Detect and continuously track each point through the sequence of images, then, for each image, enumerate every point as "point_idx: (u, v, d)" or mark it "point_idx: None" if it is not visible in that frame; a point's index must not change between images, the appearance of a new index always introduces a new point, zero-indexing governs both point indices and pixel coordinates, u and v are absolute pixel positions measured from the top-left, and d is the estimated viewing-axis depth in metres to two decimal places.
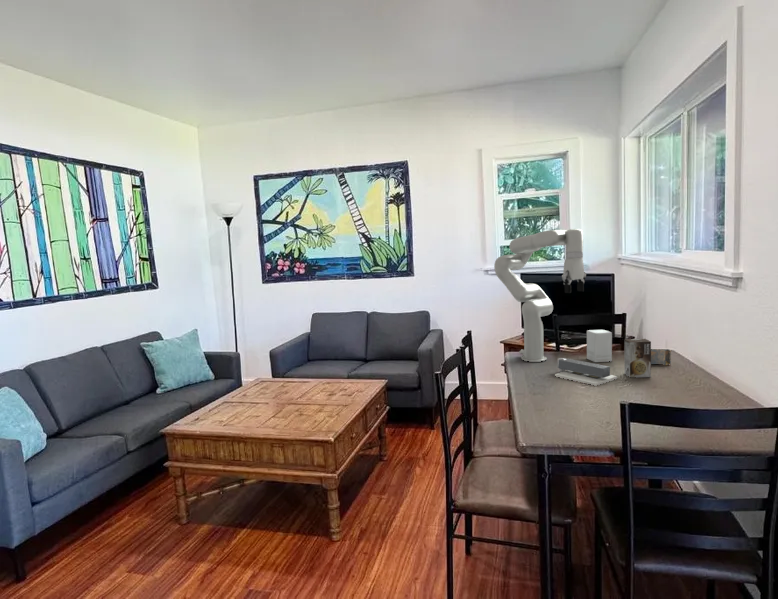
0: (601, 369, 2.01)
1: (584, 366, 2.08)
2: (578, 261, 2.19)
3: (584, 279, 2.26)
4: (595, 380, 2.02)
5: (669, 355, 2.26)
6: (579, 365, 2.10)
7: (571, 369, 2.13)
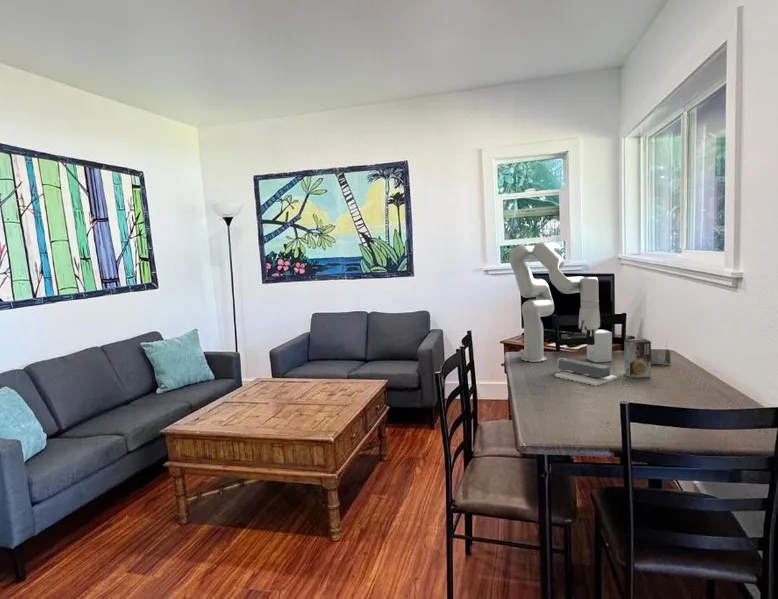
0: (601, 369, 2.01)
1: (584, 366, 2.08)
2: (593, 310, 2.11)
3: None
4: (595, 380, 2.02)
5: (669, 355, 2.26)
6: (579, 365, 2.10)
7: (571, 369, 2.13)
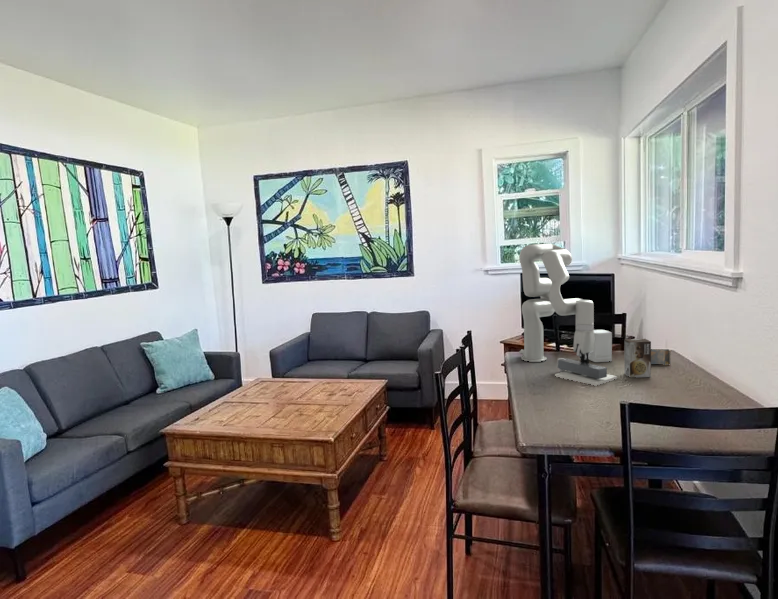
0: (597, 370, 2.00)
1: (581, 366, 2.07)
2: (588, 333, 2.10)
3: (589, 354, 2.15)
4: (595, 380, 2.02)
5: (668, 355, 2.26)
6: (577, 365, 2.09)
7: (569, 369, 2.13)
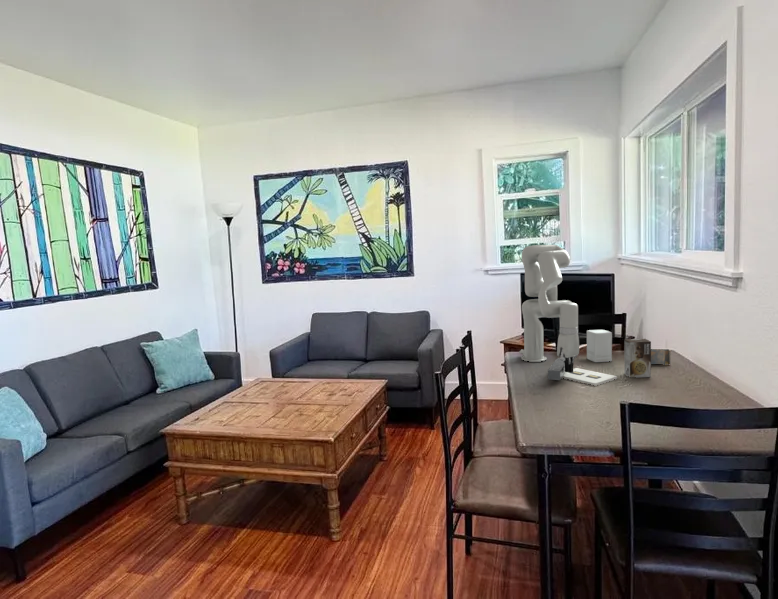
0: (548, 370, 2.02)
1: None
2: (572, 337, 2.04)
3: (573, 359, 2.08)
4: (595, 380, 2.02)
5: (668, 355, 2.26)
6: (552, 365, 2.12)
7: None
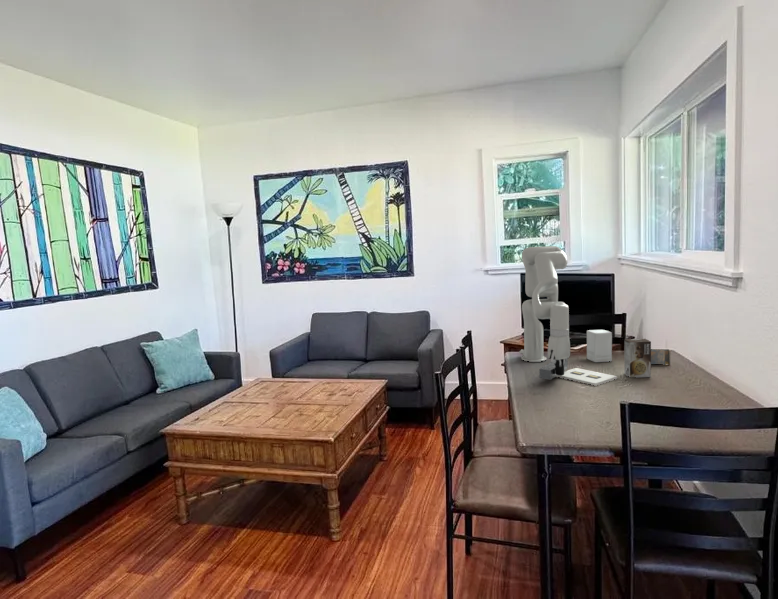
0: None
1: None
2: (563, 339, 2.01)
3: (564, 361, 2.05)
4: (595, 380, 2.02)
5: (668, 355, 2.26)
6: None
7: None
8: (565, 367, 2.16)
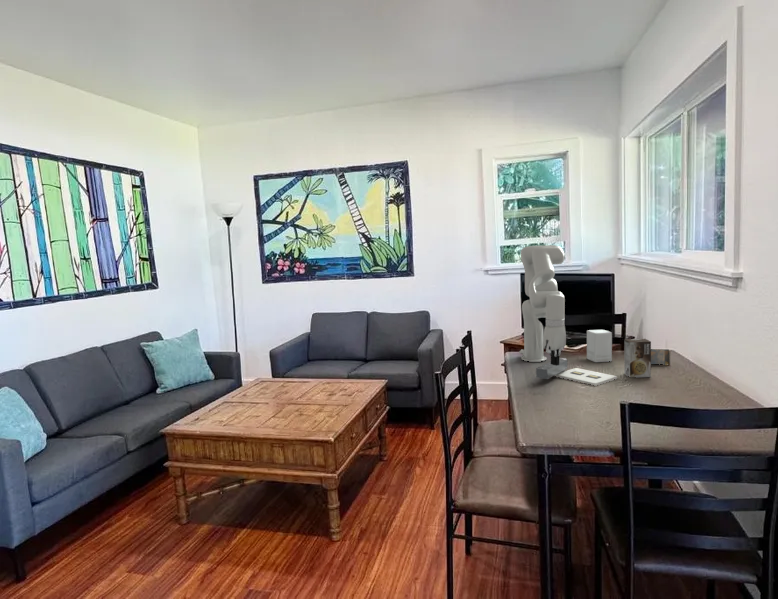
0: None
1: None
2: (559, 329, 1.99)
3: None
4: (595, 380, 2.02)
5: (668, 355, 2.26)
6: None
7: None
8: (564, 367, 2.16)
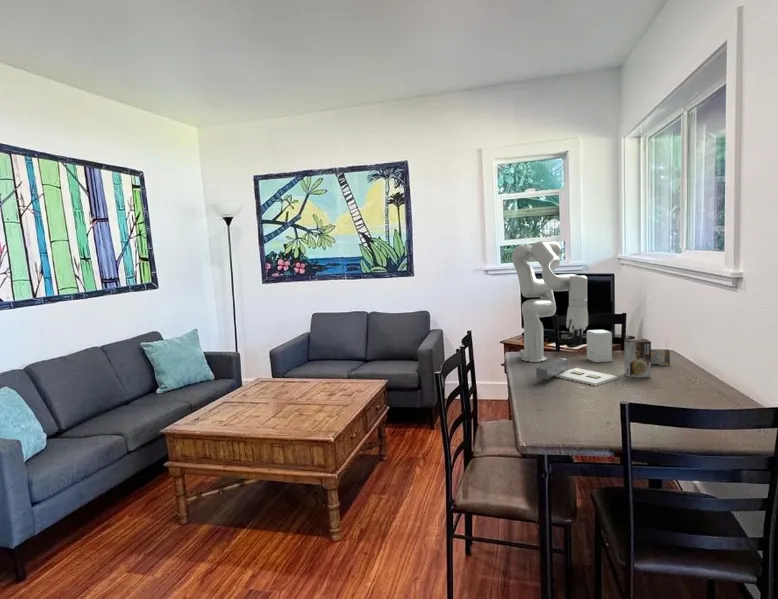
0: None
1: None
2: (582, 309, 2.08)
3: (582, 331, 2.12)
4: (595, 380, 2.02)
5: (668, 355, 2.26)
6: None
7: None
8: (564, 367, 2.16)
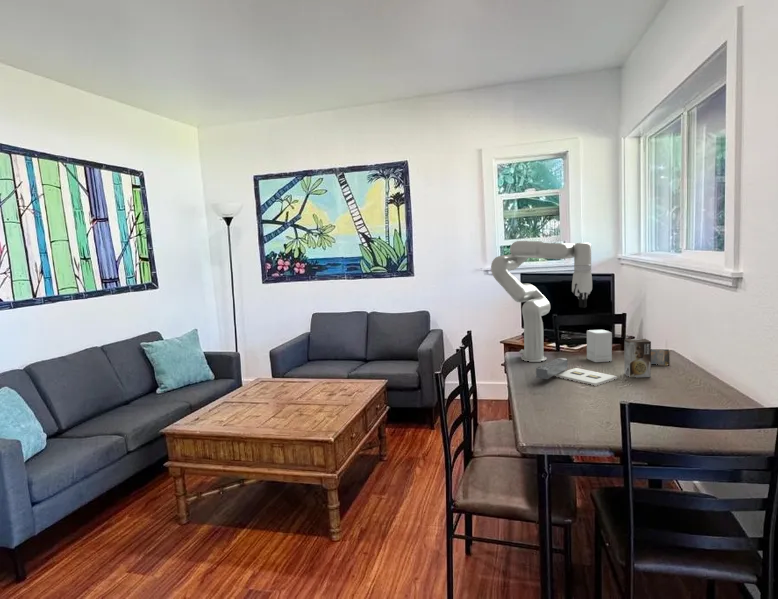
0: None
1: None
2: (586, 274, 2.22)
3: None
4: (595, 380, 2.02)
5: (668, 355, 2.26)
6: None
7: None
8: (564, 367, 2.16)
